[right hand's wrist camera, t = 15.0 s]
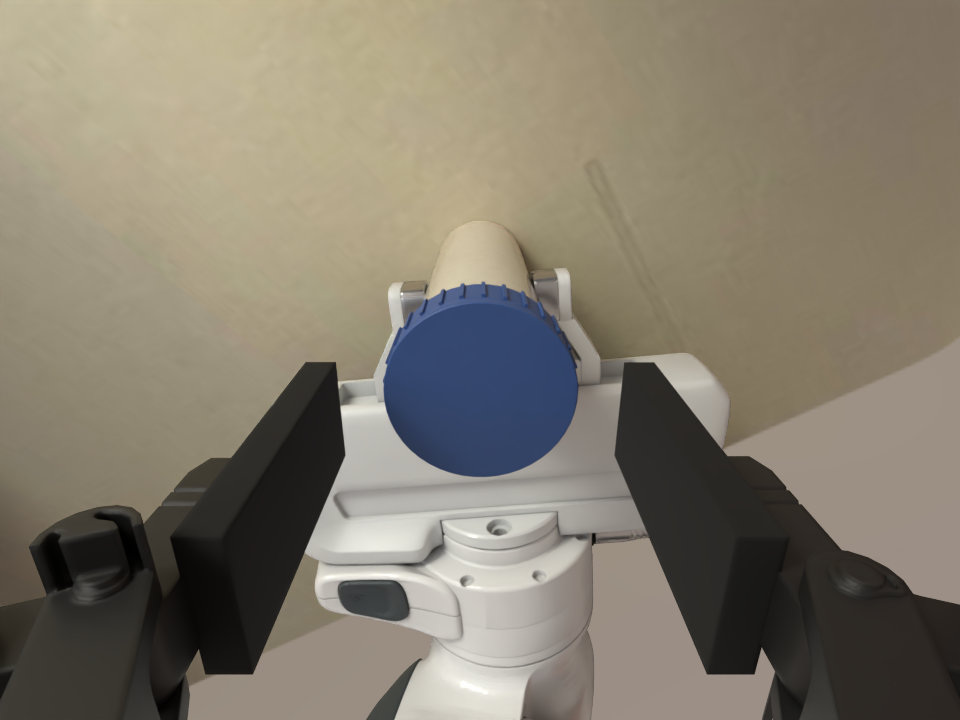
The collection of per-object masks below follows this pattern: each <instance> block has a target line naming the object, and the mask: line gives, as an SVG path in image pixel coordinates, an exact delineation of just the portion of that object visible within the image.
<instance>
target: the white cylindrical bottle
mask: <svg viewBox="0 0 960 720" xmlns="http://www.w3.org/2000/svg"><path fill="white" fill-rule="evenodd" d="M481 282H485V284H490V285H498V286H502V284H505V285H506V288H510V289H513V290H515V291H518V292H520V293H521V291H524V292H525V293H526V296H528V297H529V298H531V299H533V300H534V301H535V302H537V303H538V299H537V296H536V294H535V291H534V288H533V285H532V282H531V279H530V276H529V273H528V270H527V267H526V264H525V262H524V259H523V256H522V253H521V250H520V247H519V245H518V243H517V241H516V240H515V238H514V237H513V236H512V234H511V233H510V232H509V231H507V230H506V229H505V228H503V227H502V226H500V225H498V224H495V223H492V222H489V221H472V222H468V223H465V224H463V225H461V226H459V227H457V228H456V229H454V230H453V231H452V232H451V233H450V234H449V235H448V236H447V237H446V239H445V240H444V242H443V244H442V246H441V249H440V251H439V254H438V257H437V260H436V263H435V266H434V269H433V272H432V275H431V278H430V281H429V284H428V287H427V290H426V293H425V296H424V299H426V298H427V300H429V299H430V298H432V297H434V296H436V295H438V294H439V293H440V292H441V290H442V289H445V291H446V290H449V289H452V288H455V287H459V286H460V285H461V284H462V283H465V285H472V284H481ZM424 299H423V300H424ZM422 303H423V302H422Z"/></svg>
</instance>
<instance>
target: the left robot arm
mask: <svg viewBox="0 0 960 720" xmlns="http://www.w3.org/2000/svg"><path fill="white" fill-rule="evenodd" d="M531 282H532V285H533V288H534V291H535V294H536V296H537V299H538V302H539V301H540V302H541V303H542V305H543V308H544V309H545V310H546V311H547V312H548V313H549V314H550V315H551V316H552V315H554V316H555V317H556V320H557V322H558V325H559V326H560V328H561V329H562V331H564V332H565V334H566V337H567V338H568V340H569V341H570V342H569V344H570V346H571V349H572V350H571V352H572V354H573V357H574V359H575V362H576V364H577V369H576V373H577V378H578V384H579V387H578V400H577V405H576V410H575V413H574V416H573V419H572V421H571V424H570V425H569V427H568V429H567V431H566V433H565V434H564V436H563V437H562V438H561V440H560V441H559V442H558V443H557V445H556V446H555V447H554V448H553V449H552V450H551V451H550V452H548V453H547V454H546V455H545V456H544V457H542V458H541V459H539V460H538V461H536V462H535V463H533V464H531V465H529V466H527V467H525V468H523V469H521V470H518V471H515V472H512V473H509V474H505V475H500V476H493V477H469V476H461V475H457V474H453V473H449V472H446V471H444V470H441V469H438V468H436V467H434V466H432V465H430V464H428V463H427V462H425V461H424V460H422V459H421V458H419V457H418V456H417V455H416V454H414V453H413V452H412V451H411V450H410V449H409V448H408V447H407V446H406V445H405V444H404V443H403V442H402V440H401V439H400V437H399V436H398V435H397V433H396V432H395V430H394V428H393V426H392V424H391V422H390V420H389V417H388V414H387V411H386V407H385V402H384V391H383V387H384V383H383V378H384V376H385V372H386V368H387V364H385V362H386V359H387V357H388V354H389V352H390V349H391V347H392V344H393V341H394V339H395V336H396V334H397V332H398V329H399V327H401V328H403V326H404V325H405V323H406V320H407V318H408V315H409V313H410V312H411V311H412V312H413V313H414V312H415V311H416V310H417V309H418V308H419V307H420V306H421V305H422V302H423V299H424V296H425V293H426V290H427V287H428V282H427V280H425V281H411V282H398V283H392V284H391V286H390V288H389V290H388V302H389V308H390V314H391V321H392V327H393V331H392V333H391V336H390V338H389V340H388V343H387V345H386V347H385V350H384V352H383V355H382V357H381V359H380V362H379V364H378V366H377V369H376V371H375V374H374V376H373V377H374V378H373V379H361V380H349V381H338V388H339V397H340V407H341V416H342V426H343V435H344V445H345V454H346V456H345V458H344V460H343V463H342V465H341V468H340V470H339V472H338V475H337V477H336V479H335V482H334V484H333V486H332V489H331V491H330V494H329V496H328V498H327V501H326V503H325V505H324V508H323V510H322V512H321V515H320V517H319V519H318V522H317V524H316V527H315V529H314V531H313V534H312V536H311V538H310V541H309V543H308V545H307V548H306V550H305V554H307V555H308V556H310V557H312V558H314V559H316V560H318V561H319V565H318V570H317V575H316V580H315V592H316V596H317V599H318V601H319V603H320V605H321V606H322V607H324V608H325V609H327V610H329V611H332V612H335V613H339V614H345V615H351V616H357V617H362V618H368V619H373V620H378V621H383V622H388V623H392V624H396V625H400V626H403V627H407V628H410V629H414V630H417V631H419V632H422V633H425V634H428V635H431V636H432V644H431V648H430V652H429V655H428V657H427V658H426V659H424V660H422V659H419V660H417V661H416V662H415V663H413V664H412V665H411V666H410V667H409V668H408V669H407V670H406V671H405V672H404V673H403V674H402V675H401V676H400V677H399V678H398V680H397V681H396V682H395V683H394V684H393V685H392V686H391V688H390V689H389V690H388V691H387V693H386V694H385V695H384V696H383V697H382V698H381V699H380V701H379V702H378V703H377V705H376V706H375V707H374V709H373V710H372V712H371V713H370V715H369V716H368V718H367V719H366V720H591V715H592V705H593V691H594V656H593V648H592V643H591V640H590V637H589V634H588V631H587V629H588V626H589V623H590V619H591V615H592V608H593V572H592V546H593V545H594V544H597V543H612V542H624V541H630V540H635V539H641V538H647V537H648V538H649V536H648V534H647V531H646V529H645V527H644V524H643V522H642V519H641V517H640V515H639V512H638V510H637V508H636V505H635V503H634V501H633V498H632V496H631V494H630V491H629V489H628V486H627V484H626V482H625V479H624V477H623V475H622V472H621V470H620V468H619V465H618V463H617V460H616V458H615V456H614V454H615V445H616V435H617V426H618V416H619V407H620V397H621V388H622V378H623V369H624V362H654V363H655V364H656V365H657V366H658V368H659V369H660V370H661V372H662V373H663V374H664V375H665V377H666V378H667V379H668V381H669V382H670V383H671V384H672V386H673V387H674V388H675V390H676V391H677V392H678V393H679V395H680V396H681V397H682V399H683V400H684V401H685V402H686V404H687V405H688V406H689V408H690V409H691V410H692V411H693V413H694V414H695V415H696V417H697V418H698V419H699V420H700V422H701V423H702V424H703V426H704V427H705V428H706V429H707V431H708V432H709V433H710V435H711V436H712V437H713V438H714V440H715V441H716V442H717V444H718V445H719V446H720V447H721V449H722V450H723V446H724V442H725V437H726V432H727V426H728V420H729V414H730V397H729V394H728V392H727V390H726V388H725V387H724V385H723V384H722V383H721V381H720V380H719V379H718V378H717V377H716V375H715V374H714V373H713V372H712V371H711V370H710V369H709V368H708V367H707V366H705V365H704V364H703V363H702V362H701V361H700V360H698V359H697V358H696V357H695V356H693V355H691V354H689V353H674V354H662V355H650V356H638V357H626V358H614V359H602V360H600V356H599V354H598V352H597V350H596V348H595V346H594V344H593V343H592V341H591V339H590V337H589V336H588V334H587V333H586V331H585V330H584V328H583V327H582V325H581V324H580V322H579V321H578V319H577V318H576V316H575V315H574V313H573V312H572V294H571V280H570V274H569V272H568V271H567V269H566V268H555V269H545V270H535V271H531ZM273 404H274V403H273ZM273 404H272V405H273ZM270 408H271V407H270Z"/></svg>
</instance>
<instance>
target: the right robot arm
mask: <svg viewBox="0 0 960 720" xmlns="http://www.w3.org/2000/svg"><path fill="white" fill-rule="evenodd" d="M345 456H346V454H345V445H344V435H343V426H342V416H341V407H340V397H339V388H338V378H337V369H336V362H306V363H305V364H304V365H303V366H302V368H301V369H300V370H299V372H298V373H297V374H296V375H295V377H294V378H293V379H292V381H291V382H290V383H289V384H288V386H287V387H286V388H285V390H284V391H283V392H282V393H281V395H280V396H279V397H278V399H277V400H276V401H275V402H274V404H273V405H272V406H271V408H270V409H269V410H268V411H267V413H266V414H265V415H264V417H263V418H262V419H261V420H260V422H259V423H258V424H257V426H256V427H255V428H254V429H253V431H252V432H251V433H250V435H249V436H248V437H247V438H246V440H245V441H244V442H243V444H242V445H241V446H240V447H239V449H238V450H237V451H236V453H235V454H234V455H233V456H232V458H211V459H209V460H207V461H206V462H204V463H203V464H201V465H199V466H198V467H196V468H195V469H193V470H192V471H190V472H189V473H188V474H187V475H186V476H185V477H184V478H183V479H182V481H181V482H180V483H179V484H178V485H177V486H176V487H175V489H174V492H171V493H170V494H169V495H168V497H167V498H166V499H165V500H164V501H163V502H162V506H159V507H158V508H157V509H156V510H155V512H154V513H153V514H152V515H151V516H150V517H149V518H148V520H147V521H146V522H145V523H144V524H143V521H142V517H141V514H140V513H139V512H137V511H136V510H135V509H133V508H132V507H125V506H119V505H115V506H104V507H97V508H93V509H90V510H86V511H83V512H79V513H76V514H74V515H72V516H70V517H67V518H65V519H63V520H61V521H59V522H57V523H55V524H54V525H52V526H51V527H49V528H48V529H46V530H45V531H44V532H42V533H41V534H39V536H38V537H37V538H36V539H35V540H34V541H33V543H32V544H31V545H30V546H29V549H30V551H31V554H32V557H33V559H34V562H35V565H36V567H37V570H38V572H39V575H40V578H41V580H42V583H43V585H44V588H45V591H46V593H47V596H46V597H43V598H39V599H35V600H30V601H26V602H21V603H17V604H12V605H8V606H3V607H0V720H187V717H188V708H189V698H190V693H189V687H188V681H187V678H186V674H185V673H186V671H187V669H188V668H189V666H190V664H191V662H192V660H193V658H194V657H195V655H196V653H197V651H198V649H199V651H200V655H201V659H202V663H203V666H204V670H205V674H253V673H254V670H255V668H256V666H257V663H258V661H259V659H260V656H261V654H262V652H263V649H264V647H265V645H266V642H267V640H268V637H269V635H270V633H271V630H272V628H273V626H274V623H275V621H276V619H277V616H278V614H279V611H280V609H281V607H282V604H283V602H284V600H285V597H286V595H287V593H288V590H289V588H290V586H291V583H292V581H293V578H294V576H295V574H296V571H297V569H298V567H299V564H300V562H301V560H302V557H303V555H304V553H305V550H306V548H307V545H308V543H309V541H310V538H311V536H312V534H313V531H314V529H315V527H316V524H317V522H318V519H319V517H320V515H321V512H322V510H323V508H324V505H325V503H326V501H327V498H328V496H329V494H330V491H331V489H332V486H333V484H334V482H335V479H336V477H337V475H338V472H339V470H340V468H341V465H342V463H343V460H344V458H345ZM614 456H615V458H616V460H617V463H618V465H619V468H620V470H621V472H622V475H623V477H624V479H625V482H626V484H627V486H628V489H629V491H630V494H631V496H632V498H633V501H634V503H635V505H636V508H637V510H638V512H639V515H640V517H641V519H642V522H643V524H644V527H645V529H646V531H647V534H648V536H649V538H650V541H651V543H652V545H653V548H654V550H655V552H656V555H657V557H658V559H659V562H660V564H661V567H662V569H663V571H664V574H665V576H666V578H667V581H668V583H669V585H670V588H671V590H672V593H673V595H674V597H675V600H676V602H677V604H678V607H679V609H680V611H681V614H682V616H683V619H684V621H685V623H686V626H687V628H688V630H689V633H690V635H691V637H692V640H693V642H694V645H695V647H696V649H697V652H698V654H699V656H700V659H701V661H702V663H703V666H704V668H705V670H706V673H707V674H755V670H756V666H757V663H758V659H759V655H760V651H761V647H762V648H763V650H764V652H765V654H766V656H767V657H768V659H769V661H770V663H771V665H772V666H773V668H774V670H775V674H774V678H773V681H772V685H771V689H770V692H769V696H768V699H767V703H766V706H765V710H764V714H763V718H762V720H772V718H773V720H960V605H959V604H954V603H950V602H945V601H941V600H936V599H932V598H927V597H922V596H919V595H915V594H913V593H912V591H911V590H910V589H909V587H908V586H907V585H906V583H905V582H904V580H902V579H901V578H900V577H899V576H897V575H896V574H895V573H894V572H892V571H891V570H890V569H889V568H887V567H885V566H884V565H882V564H880V563H878V562H876V561H874V560H872V559H870V558H868V557H865V556H862V555H859V554H856V553H852V552H849V551H843V550H841V549H840V548H839V547H838V545H837V544H836V543H835V542H834V541H833V540H832V539H831V537H830V536H829V535H828V534H827V533H826V532H825V531H824V529H823V528H822V527H821V526H820V525H819V524H818V523H817V521H816V520H815V519H814V518H813V517H812V516H811V515H810V514H809V512H808V511H807V510H806V509H805V508H804V507H803V506H802V505H801V504H799V503H798V500H797V499H796V498H795V497H794V495H793V494H792V493H791V492H790V491H789V490H786V486H785V485H784V484H783V483H782V482H781V481H780V479H779V478H778V477H777V476H776V475H775V474H774V473H773V471H772V470H770V469H768V468H767V467H765V466H764V465H762V464H761V463H759V462H757V461H756V460H754V459H753V458H751V457H749V456H727V455H726V454H725V453H724V451H723V450H722V449H721V447H720V446H719V445H718V444H717V442H716V441H715V440H714V438H713V437H712V436H711V435H710V433H709V432H708V431H707V429H706V428H705V427H704V426H703V424H702V423H701V422H700V420H699V419H698V418H697V417H696V415H695V414H694V413H693V411H692V410H691V409H690V408H689V406H688V405H687V404H686V402H685V401H684V400H683V399H682V397H681V396H680V395H679V393H678V392H677V391H676V390H675V388H674V387H673V386H672V384H671V383H670V382H669V381H668V379H667V378H666V377H665V375H664V374H663V373H662V372H661V370H660V369H659V368H658V366H657V365H656V364H655V363H654V362H624V369H623V378H622V388H621V397H620V407H619V416H618V426H617V435H616V445H615V454H614Z"/></svg>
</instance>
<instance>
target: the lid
mask: <svg viewBox="0 0 960 720" xmlns="http://www.w3.org/2000/svg"><path fill="white" fill-rule="evenodd" d="M571 350H572V349H571V346H570V344H569V342H568V339H567V337H566V334H565V332H564V331H562V332H561V330H560V327H559V325H558V322H557V320H556V317H555V316H554V315H552V316H551V315H550V314H549V313H548V312H547V311H546V310H545V309H544V308H543V305H542V303H541V302H540V301H539V302H538V303H537V302H535V301H534V300H533V299H531V298H529V297H528V296H526V293H525V292H524V291H521V293H520V292H518V291H515V290H513V289H510V288H506V285H505V284H502V286H498V285H490V284H485V282H481V284H472V285H465V283H462V284H461V285H460V286H459V287H455V288H452V289H449V290H446V291H445V289H442V290H441V292H440V293H439V294H438V295H436V296H434V297H432V298H430V299H429V300H427V298H426V299H424V300H423V303H422V305H421V306H420V307H419V308H418V309H417V310H416V311H415V312H414V313H413V312H412V311H411V312H410V313H409V315H408V318H407V320H406V323H405V325H404V326H403V328H401V327H399V329H398V332H397V334H396V336H395V339H394V341H393V344H392V347H391V349H390V352H389V354H388V357H387V359H386V362H385V364H387V368H386V372H385V376H384V378H383V383H384V387H383V391H384V402H385V407H386V411H387V414H388V417H389V420H390V422H391V424H392V426H393V428H394V430H395V432H396V433H397V435H398V436H399V437H400V439H401V440H402V442H403V443H404V444H405V445H406V446H407V447H408V448H409V449H410V450H411V451H412V452H413V453H414V454H416V455H417V456H418V457H419V458H421V459H422V460H424V461H425V462H427V463H428V464H430V465H432V466H434V467H436V468H438V469H441V470H444V471H446V472H449V473H453V474H457V475H461V476H469V477H493V476H500V475H505V474H509V473H512V472H515V471H518V470H521V469H523V468H525V467H527V466H529V465H531V464H533V463H535V462H536V461H538V460H539V459H541V458H542V457H544V456H545V455H546V454H547V453H548V452H550V451H551V450H552V449H553V448H554V447H555V446H556V445H557V443H558V442H559V441H560V440H561V438H562V437H563V436H564V434H565V433H566V431H567V429H568V427H569V425H570V424H571V421H572V419H573V416H574V413H575V410H576V405H577V400H578V387H579V384H578V378H577V373H576V369H577V364H576V362H575V359H574V357H573V354H572V352H571Z"/></svg>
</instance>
